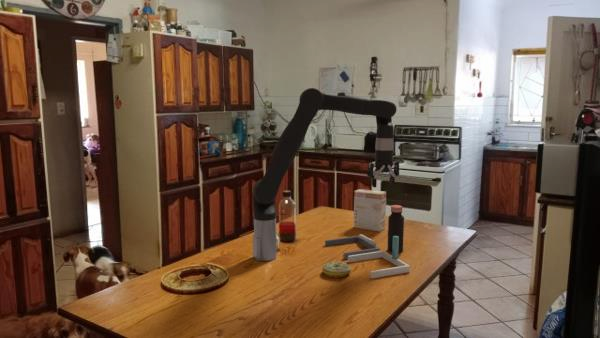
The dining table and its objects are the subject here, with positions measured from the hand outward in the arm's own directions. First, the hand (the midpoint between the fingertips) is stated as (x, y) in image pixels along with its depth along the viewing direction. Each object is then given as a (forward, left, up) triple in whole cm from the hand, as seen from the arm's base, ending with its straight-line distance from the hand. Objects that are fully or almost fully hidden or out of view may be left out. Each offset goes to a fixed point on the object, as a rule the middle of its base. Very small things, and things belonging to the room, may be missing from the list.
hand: (382, 186), depth 196 cm
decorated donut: (-29, -14, -30) cm, 44 cm away
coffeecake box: (+14, +34, -30) cm, 47 cm away
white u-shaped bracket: (-10, -14, -29) cm, 34 cm away
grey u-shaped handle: (-10, +8, -29) cm, 32 cm away
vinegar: (+7, 0, -30) cm, 30 cm away
